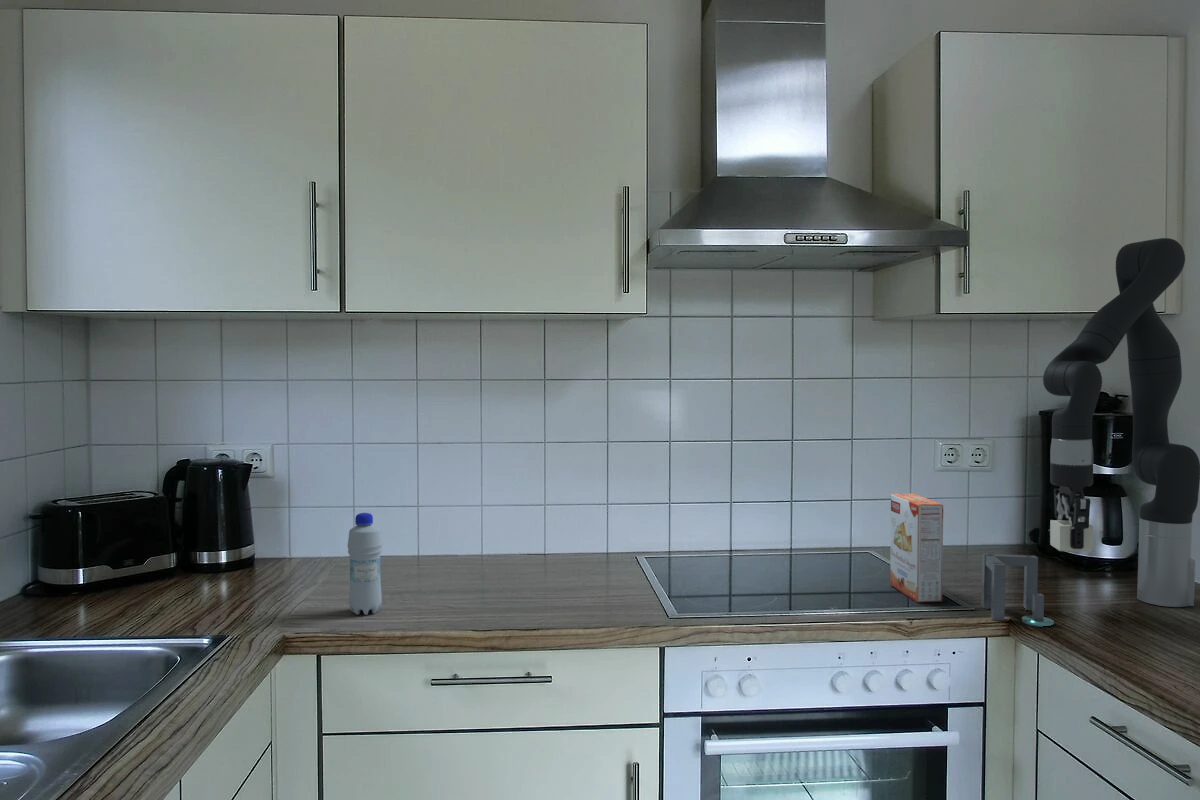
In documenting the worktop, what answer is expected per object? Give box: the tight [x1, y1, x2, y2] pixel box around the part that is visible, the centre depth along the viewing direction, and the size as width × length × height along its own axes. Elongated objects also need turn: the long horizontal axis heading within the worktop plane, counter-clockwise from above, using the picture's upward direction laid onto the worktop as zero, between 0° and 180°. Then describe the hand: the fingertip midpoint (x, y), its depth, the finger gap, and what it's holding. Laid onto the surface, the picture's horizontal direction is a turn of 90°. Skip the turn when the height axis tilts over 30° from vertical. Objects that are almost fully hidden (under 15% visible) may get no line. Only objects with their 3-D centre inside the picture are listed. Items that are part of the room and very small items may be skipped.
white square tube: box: [1049, 519, 1094, 553], centre depth 174 cm, size 6×6×5 cm
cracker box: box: [889, 493, 944, 604], centre depth 188 cm, size 14×6×21 cm, turn 4°
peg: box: [1021, 592, 1055, 628], centre depth 168 cm, size 6×6×6 cm
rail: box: [980, 553, 1039, 622], centre depth 173 cm, size 10×10×11 cm
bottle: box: [347, 512, 383, 616], centre depth 174 cm, size 7×7×20 cm
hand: (1071, 544), depth 174 cm, fingers closed on white square tube, 6 cm apart
